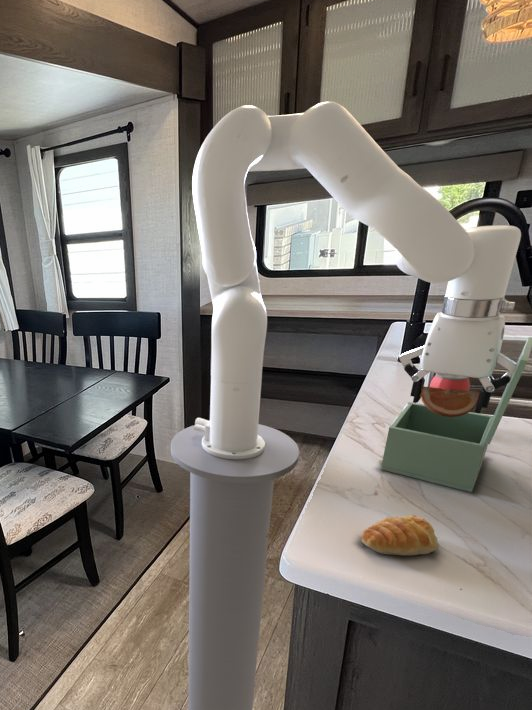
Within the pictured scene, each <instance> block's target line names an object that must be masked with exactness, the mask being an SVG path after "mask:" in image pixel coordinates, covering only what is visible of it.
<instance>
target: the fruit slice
mask: <svg viewBox="0 0 532 710" xmlns="http://www.w3.org/2000/svg"><path fill="white" fill-rule="evenodd" d="M479 395H480V391H477V390H469V391H463V390H454V389H450V390H444V389H441V388H433V387H430V386H425V385H424V386H423V387H421V394H420V395H419V396H421V399H420V400H421V401H422V404H424V405H426V406H427V407H428V408H429V409H430V410H431V411H433V412H434V413H436V414H439V415H441V416H445V417H458V416H462V415H465V414H467V413H468V412H471V411H473V409H474V410H475V409H476V405H477V402H478V398H479Z"/></svg>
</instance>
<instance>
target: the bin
mask: <svg viewBox="0 0 532 710" xmlns="http://www.w3.org/2000/svg"><path fill="white" fill-rule="evenodd" d="M493 416H494V415H491V414H485V413H476V412H471V411H470V412H468V413H467V414H465V415H462V416H458V417H445V416H441V415H439V414H436V413H434V412H433V411H431V410H430V409H429V408H428V407H427V406H426V405H425V404H424V403H419V402H418V403H413V402H411V401H408V402H407V404H406V405H405V406H404V407H403V409H402V410H401V411H400V413H399V414H398V415H397V417H396V418H395V419H394V421H393V422H392V423H391V424H390V426H389V427H388V432H387V435H386V441H385V446H384V452H383V457H382V460H381V467H380V470H382V471H386V472H390V473H393V474H397V475H400V476H405V477H409V478H413V479H417V480H422V481H425V482H429V483H433V484H437V485H441V486H445V487H449V488H453V489H456V490H460V491H464V492H468V493H473V490H474V488H475V485H476V483H477V479H478V477H479V474H480V471H481V468H482V464H483V462H484V459H485V456H486V453H487V449H488V446H489V445H488V444H484V443H483V442H484V440H485V437H486V434H487V432H488V429H489V426H490V424H491V421H492V419H493Z"/></svg>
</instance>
